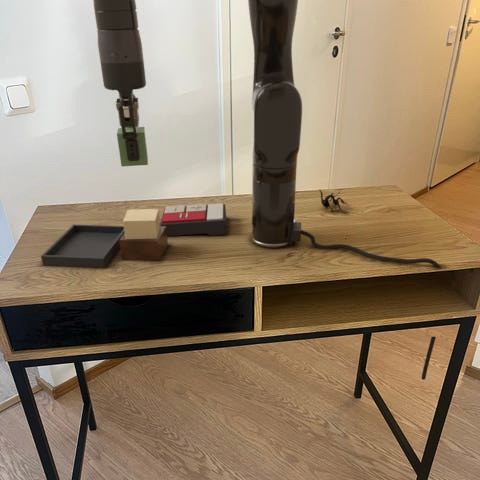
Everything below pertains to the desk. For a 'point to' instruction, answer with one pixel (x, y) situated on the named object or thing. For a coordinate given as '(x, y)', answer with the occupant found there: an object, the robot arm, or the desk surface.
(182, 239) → the desk surface
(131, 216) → the cream block
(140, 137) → the green block
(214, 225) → the calculator
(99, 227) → the tray
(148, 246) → the walnut block
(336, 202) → the creature
